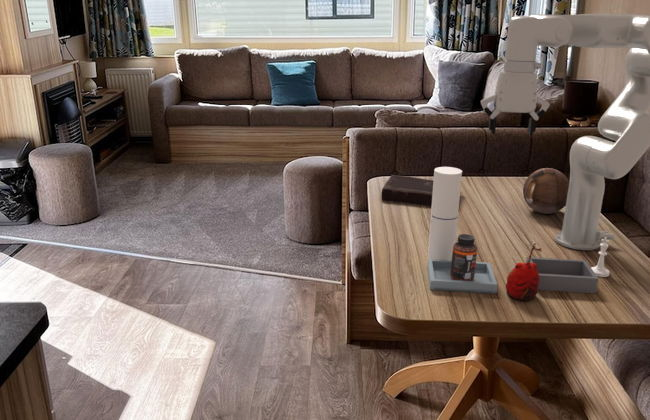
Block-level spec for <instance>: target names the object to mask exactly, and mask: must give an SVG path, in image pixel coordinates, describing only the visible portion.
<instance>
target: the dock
mask: <svg viewBox="0 0 650 420" xmlns="http://www.w3.org/2000/svg"><path fill="white" fill-rule="evenodd" d="M528 260H529V257H527V256H526V258H525V263H527V261H528ZM530 263H535V264H536V265H537V270H538V273H539V286H538V291H548V292H549V291H551V292H565V293H567V292H568V293H583V294H597V289H598V284H599V276H596V274H595V273H594V271H593V270H592V269H591V266H590V264H589V263H588V262H587V260H585V259H567V258H549V257H531V259H530Z"/></svg>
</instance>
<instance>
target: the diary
mask: <svg viewBox="0 0 650 420" xmlns="http://www.w3.org/2000/svg"><path fill="white" fill-rule="evenodd" d="M433 182H434V179H433V180H432V179H425V178H421V177H415V176H414V177H413V176H410V175H409V176H408V175H407V176H406V175H398V174H397V175H396V174H391V175H390V176H389V178H388V179H387V180H386V182H385V184H384V186H383V187H382V189H381V195H380V197H381V201H384V202H396V203H404V204H411V205H412V204H414V205H421V206H431V207H432V195H433Z"/></svg>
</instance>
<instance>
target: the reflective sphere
mask: <svg viewBox="0 0 650 420" xmlns="http://www.w3.org/2000/svg"><path fill="white" fill-rule="evenodd" d="M569 181H570V179H569V178H568V177H567V176H566V175H565V174H564V173H563V172H561V171H559V170H557V169H554V168H552V167H551V168H549V167H545V168H539V169H537V170H535V171H533V172H532V173H531V174H530V175H529V176H528V177H527V178H526V179H525V181H524V184H523V189H522V194H523V199H524V201H525V203H526V205H527V206H528V207H529V208H530V209H531V210H533V211H535V212H536V213H539V214H545V215H546V214H547V215H550V214H555V213H557V212H559V211H561V210H562V209H564V208H565V207H566V201H567V194H568V188H569Z"/></svg>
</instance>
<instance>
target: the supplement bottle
mask: <svg viewBox="0 0 650 420" xmlns="http://www.w3.org/2000/svg"><path fill="white" fill-rule="evenodd" d="M477 255H478V247H477V245H476V244H475V236H473V235H472V234H466V233H462V234H459V235H458V236H457V241H456V243H455V244H454V246H453V253H452V263H451V277H452V279H454V280H459V281H472V280H473V279H474V274H475V265H476V262H477Z"/></svg>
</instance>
